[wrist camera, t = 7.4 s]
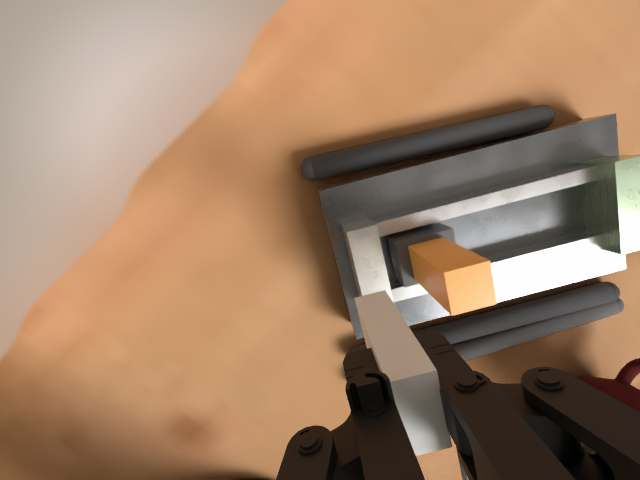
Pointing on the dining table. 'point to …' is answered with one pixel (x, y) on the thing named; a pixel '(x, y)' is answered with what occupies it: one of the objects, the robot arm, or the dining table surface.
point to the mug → (620, 385)
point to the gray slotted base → (494, 214)
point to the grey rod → (523, 313)
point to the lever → (442, 268)
